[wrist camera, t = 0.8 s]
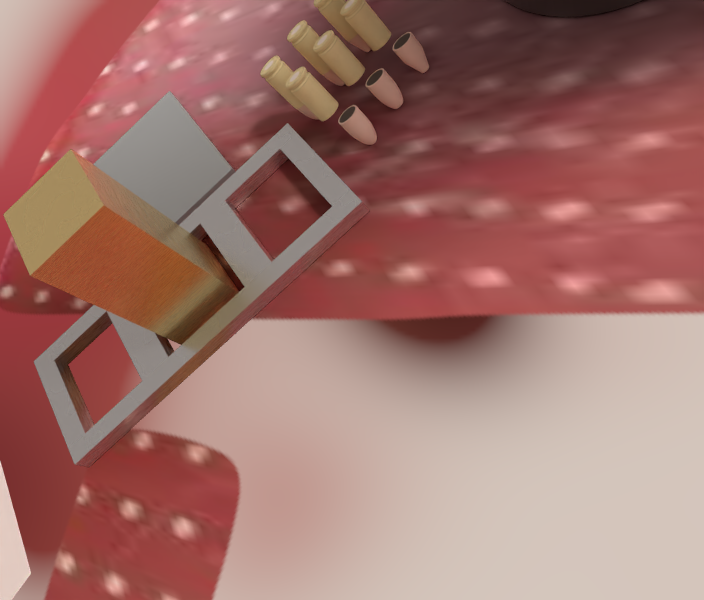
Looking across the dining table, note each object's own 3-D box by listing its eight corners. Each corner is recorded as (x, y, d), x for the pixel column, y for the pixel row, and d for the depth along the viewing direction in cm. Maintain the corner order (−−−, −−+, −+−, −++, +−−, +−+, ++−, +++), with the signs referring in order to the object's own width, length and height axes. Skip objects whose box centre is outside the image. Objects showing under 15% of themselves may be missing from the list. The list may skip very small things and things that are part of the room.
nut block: (207, 245, 43) (70, 148, 33) (241, 294, 41) (103, 205, 31) (154, 295, 44) (3, 214, 33) (184, 346, 41) (29, 275, 31)
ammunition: (251, 68, 41) (339, 108, 37) (320, -22, 41) (414, 7, 37) (287, 114, 45) (370, 154, 41) (349, 31, 45) (437, 62, 41)
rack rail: (296, 133, 44) (287, 123, 43) (369, 210, 39) (361, 201, 38) (47, 366, 45) (33, 361, 44) (89, 467, 41) (74, 464, 40)
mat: (172, 94, 50) (169, 90, 50) (235, 171, 45) (232, 168, 44) (73, 189, 51) (69, 186, 51) (122, 277, 45) (118, 275, 45)
